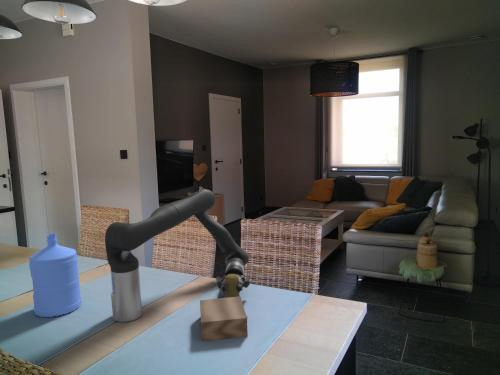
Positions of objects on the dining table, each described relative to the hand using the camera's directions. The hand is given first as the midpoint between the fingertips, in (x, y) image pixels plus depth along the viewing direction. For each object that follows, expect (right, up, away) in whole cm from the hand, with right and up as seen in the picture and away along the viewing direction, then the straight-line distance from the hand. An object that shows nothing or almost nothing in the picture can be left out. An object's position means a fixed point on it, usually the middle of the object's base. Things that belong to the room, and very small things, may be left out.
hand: (231, 289), depth 134 cm
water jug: (-64, -8, +4) cm, 65 cm away
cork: (0, -6, +3) cm, 7 cm away
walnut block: (-2, -8, -13) cm, 16 cm away
